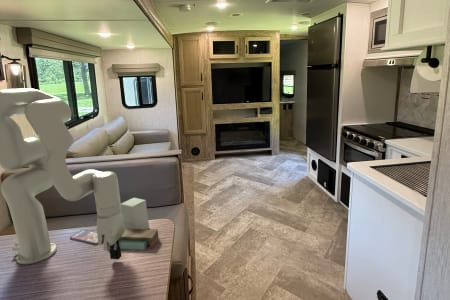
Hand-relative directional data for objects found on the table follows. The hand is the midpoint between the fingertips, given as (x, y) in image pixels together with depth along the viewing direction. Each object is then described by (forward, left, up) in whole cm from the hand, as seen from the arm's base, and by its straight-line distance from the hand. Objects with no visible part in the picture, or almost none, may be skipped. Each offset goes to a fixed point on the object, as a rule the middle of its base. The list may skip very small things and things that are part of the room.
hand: (116, 257), depth 102 cm
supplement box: (-3, +22, -2) cm, 22 cm away
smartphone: (-20, +15, -2) cm, 25 cm away
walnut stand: (0, +12, -1) cm, 12 cm away
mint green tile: (+1, +10, -1) cm, 11 cm away
